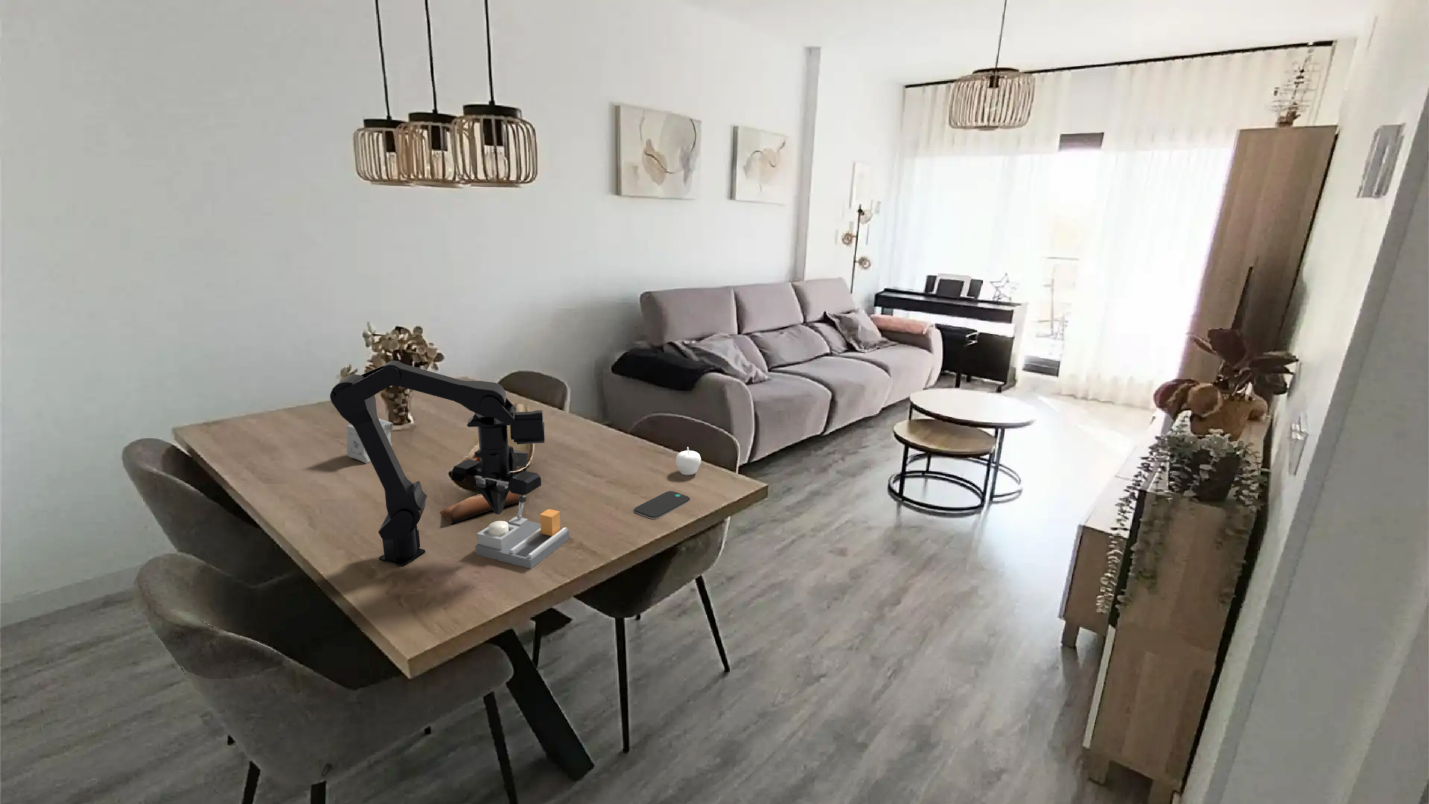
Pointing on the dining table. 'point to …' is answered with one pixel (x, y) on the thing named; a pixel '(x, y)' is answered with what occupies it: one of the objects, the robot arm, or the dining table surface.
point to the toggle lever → (521, 505)
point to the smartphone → (661, 505)
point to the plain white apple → (688, 462)
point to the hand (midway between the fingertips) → (498, 513)
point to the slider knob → (550, 522)
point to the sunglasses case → (473, 507)
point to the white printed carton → (355, 444)
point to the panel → (520, 543)
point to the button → (498, 528)
